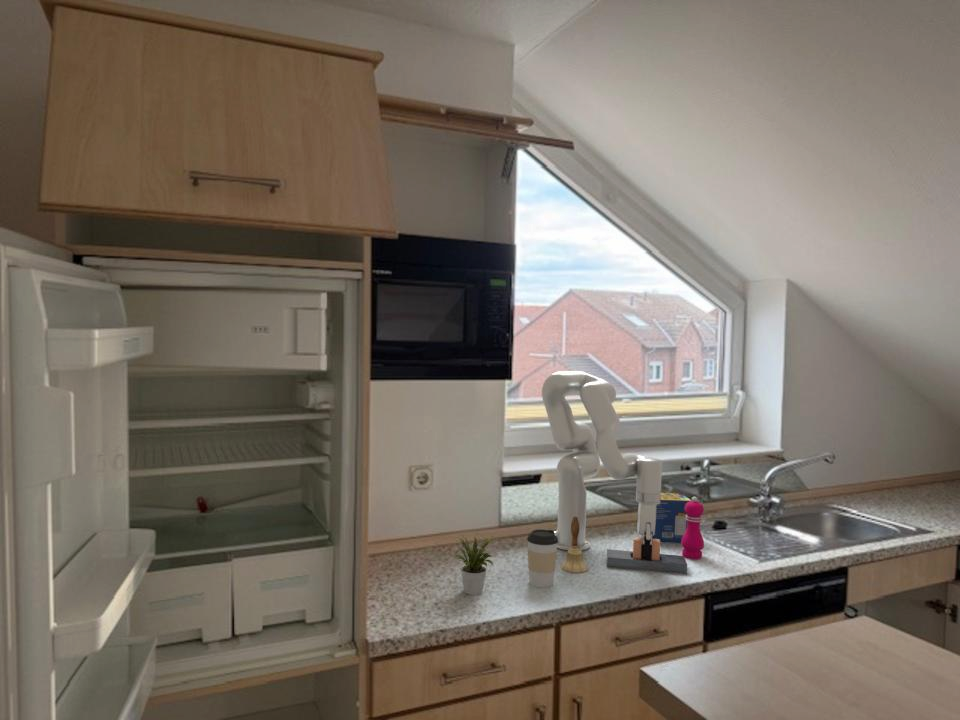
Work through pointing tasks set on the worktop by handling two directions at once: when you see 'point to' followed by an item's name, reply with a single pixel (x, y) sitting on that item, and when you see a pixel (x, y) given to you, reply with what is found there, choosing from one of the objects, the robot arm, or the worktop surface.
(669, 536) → the protein box
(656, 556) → the peach arch block
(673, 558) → the rail
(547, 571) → the coffee cup
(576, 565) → the hand bell
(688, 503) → the pepper mill
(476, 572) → the house plant
